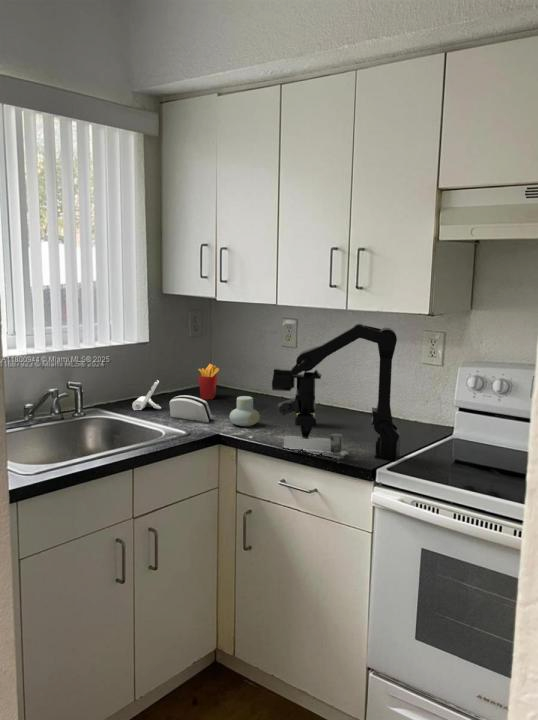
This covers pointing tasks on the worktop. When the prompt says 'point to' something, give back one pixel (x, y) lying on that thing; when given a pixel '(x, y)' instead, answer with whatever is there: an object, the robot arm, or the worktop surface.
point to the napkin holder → (190, 408)
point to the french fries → (208, 382)
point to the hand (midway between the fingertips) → (304, 440)
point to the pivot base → (335, 454)
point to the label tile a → (315, 451)
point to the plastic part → (146, 400)
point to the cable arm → (314, 443)
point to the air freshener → (244, 412)
